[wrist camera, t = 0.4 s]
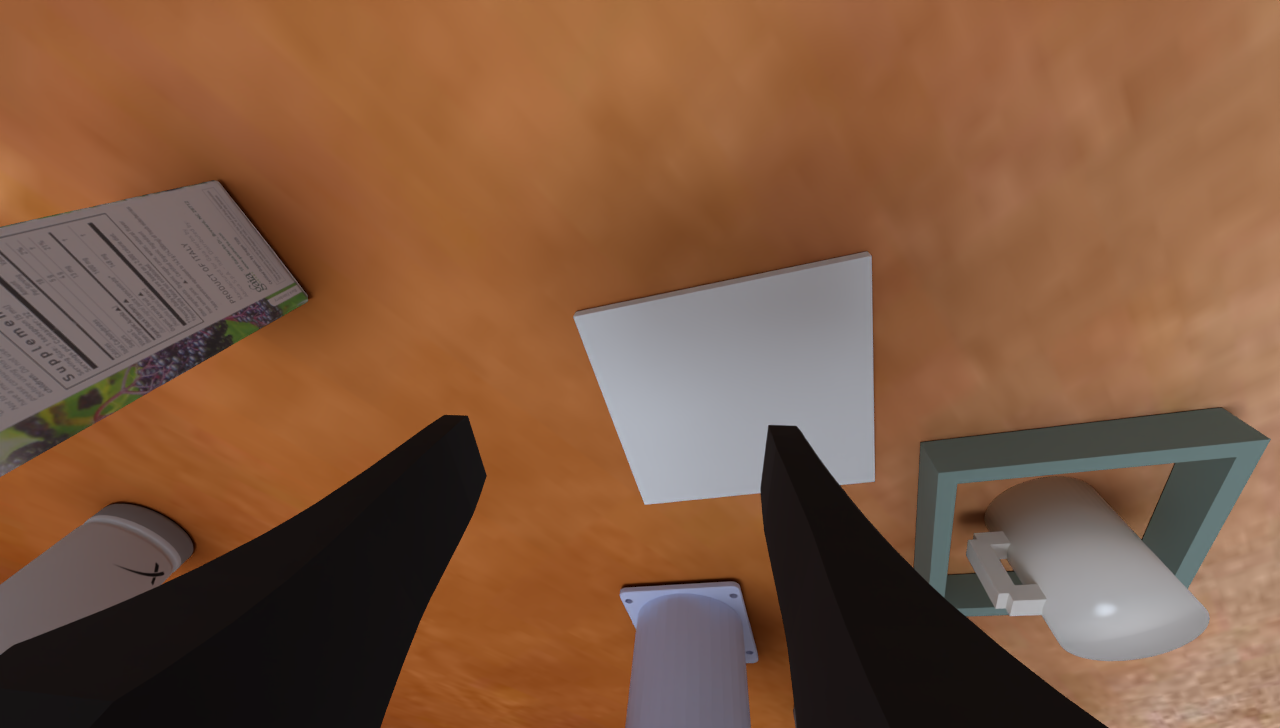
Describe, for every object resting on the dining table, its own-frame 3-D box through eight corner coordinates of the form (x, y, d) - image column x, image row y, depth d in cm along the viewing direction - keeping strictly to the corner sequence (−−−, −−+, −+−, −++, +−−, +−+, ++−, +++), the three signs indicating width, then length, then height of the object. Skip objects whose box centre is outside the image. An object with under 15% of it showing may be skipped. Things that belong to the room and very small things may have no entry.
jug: (1109, 471, 22) (1230, 590, 17) (1086, 538, 25) (1185, 659, 20) (954, 485, 24) (1023, 599, 19) (947, 547, 26) (1006, 662, 21)
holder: (1145, 573, 25) (1176, 608, 24) (913, 585, 28) (926, 618, 26) (1221, 407, 20) (1270, 439, 18) (920, 442, 22) (938, 473, 21)
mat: (871, 474, 24) (874, 481, 23) (645, 497, 26) (644, 504, 26) (867, 251, 18) (871, 255, 17) (575, 311, 20) (573, 316, 20)
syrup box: (229, 329, 23) (-292, 621, 11) (126, 214, 20) (-731, 437, 8) (315, 298, 22) (-180, 598, 9) (216, 170, 19) (-673, 361, 7)
